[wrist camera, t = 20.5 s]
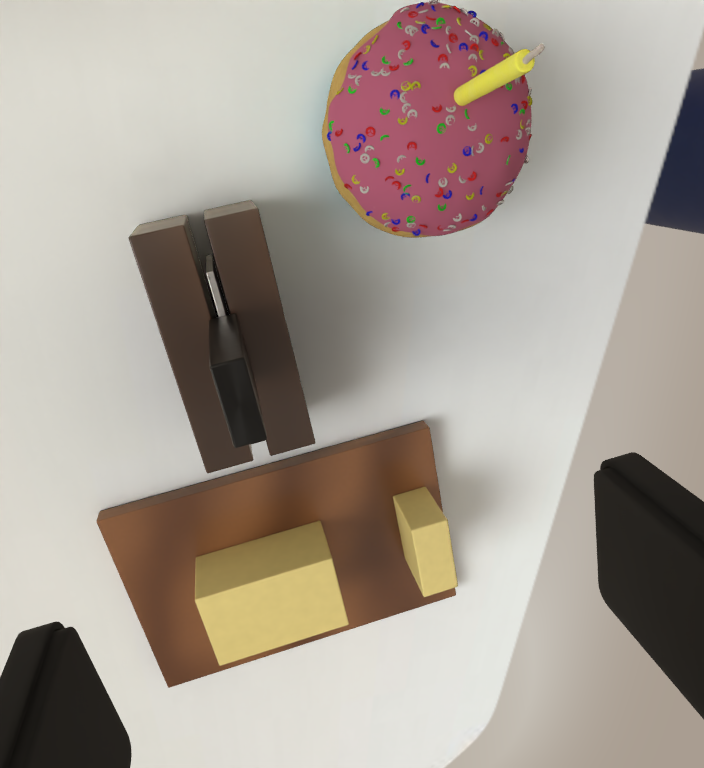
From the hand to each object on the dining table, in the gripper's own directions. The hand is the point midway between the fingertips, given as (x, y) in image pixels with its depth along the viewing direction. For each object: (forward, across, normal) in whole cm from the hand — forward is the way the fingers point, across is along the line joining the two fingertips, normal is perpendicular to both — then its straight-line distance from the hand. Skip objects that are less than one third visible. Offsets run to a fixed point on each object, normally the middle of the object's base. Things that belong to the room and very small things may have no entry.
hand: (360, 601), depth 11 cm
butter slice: (+20, -5, +14) cm, 26 cm away
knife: (+21, +2, 0) cm, 21 cm away
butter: (+20, +4, +14) cm, 25 cm away
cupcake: (+22, -8, -6) cm, 24 cm away
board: (+21, +2, +14) cm, 26 cm away
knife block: (+21, +2, 0) cm, 22 cm away
